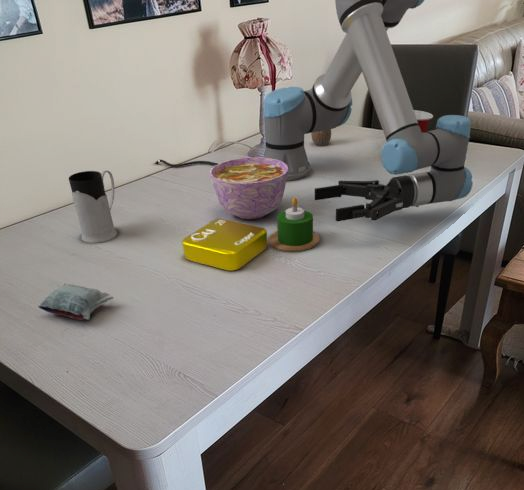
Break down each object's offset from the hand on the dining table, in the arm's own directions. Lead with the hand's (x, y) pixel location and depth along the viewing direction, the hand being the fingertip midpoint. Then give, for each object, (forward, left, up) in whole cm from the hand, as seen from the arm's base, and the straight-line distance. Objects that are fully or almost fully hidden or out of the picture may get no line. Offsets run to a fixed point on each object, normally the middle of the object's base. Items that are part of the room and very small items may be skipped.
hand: (325, 204), depth 125 cm
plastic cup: (-18, +68, -8) cm, 71 cm away
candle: (-4, -7, -7) cm, 10 cm away
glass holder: (-46, -32, -8) cm, 56 cm away
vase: (-48, +58, -8) cm, 75 cm away
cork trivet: (-4, -7, -8) cm, 11 cm away
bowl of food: (-24, -1, -8) cm, 25 cm away
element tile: (-12, -21, -8) cm, 26 cm away
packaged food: (-17, -57, -8) cm, 60 cm away
